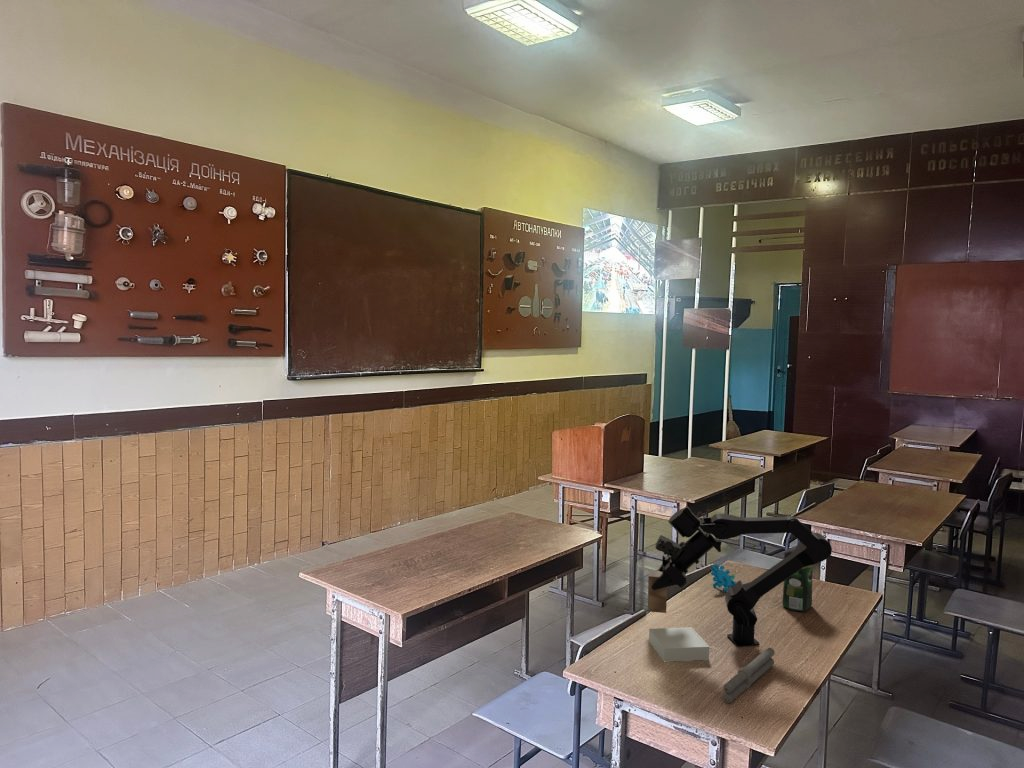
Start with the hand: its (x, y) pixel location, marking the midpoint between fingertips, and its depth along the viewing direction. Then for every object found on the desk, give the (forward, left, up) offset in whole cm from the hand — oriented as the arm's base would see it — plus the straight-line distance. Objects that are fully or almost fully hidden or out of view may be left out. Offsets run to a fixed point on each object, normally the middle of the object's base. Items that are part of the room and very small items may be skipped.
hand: (652, 585), depth 194 cm
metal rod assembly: (-31, -14, -14) cm, 36 cm away
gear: (+31, -35, -14) cm, 49 cm away
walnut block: (0, -1, -7) cm, 7 cm away
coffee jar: (+14, -51, -14) cm, 55 cm away
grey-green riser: (-12, -3, -14) cm, 19 cm away
